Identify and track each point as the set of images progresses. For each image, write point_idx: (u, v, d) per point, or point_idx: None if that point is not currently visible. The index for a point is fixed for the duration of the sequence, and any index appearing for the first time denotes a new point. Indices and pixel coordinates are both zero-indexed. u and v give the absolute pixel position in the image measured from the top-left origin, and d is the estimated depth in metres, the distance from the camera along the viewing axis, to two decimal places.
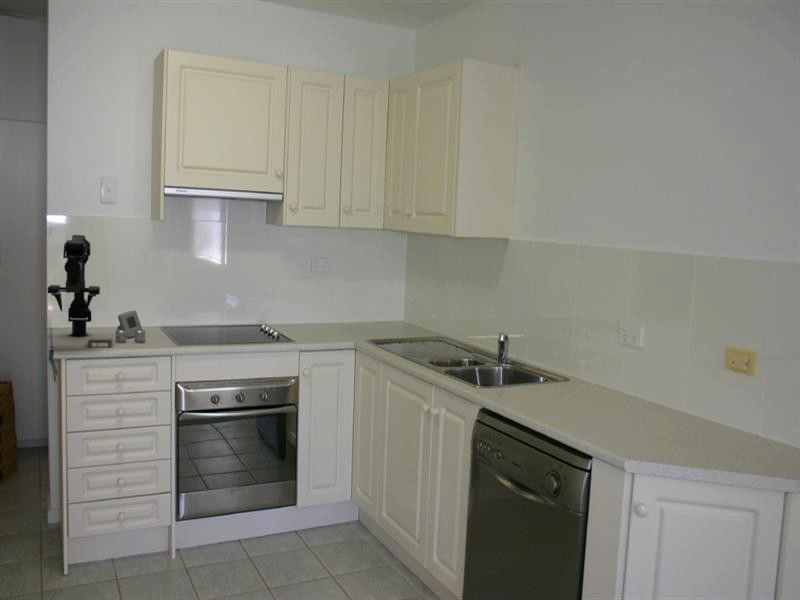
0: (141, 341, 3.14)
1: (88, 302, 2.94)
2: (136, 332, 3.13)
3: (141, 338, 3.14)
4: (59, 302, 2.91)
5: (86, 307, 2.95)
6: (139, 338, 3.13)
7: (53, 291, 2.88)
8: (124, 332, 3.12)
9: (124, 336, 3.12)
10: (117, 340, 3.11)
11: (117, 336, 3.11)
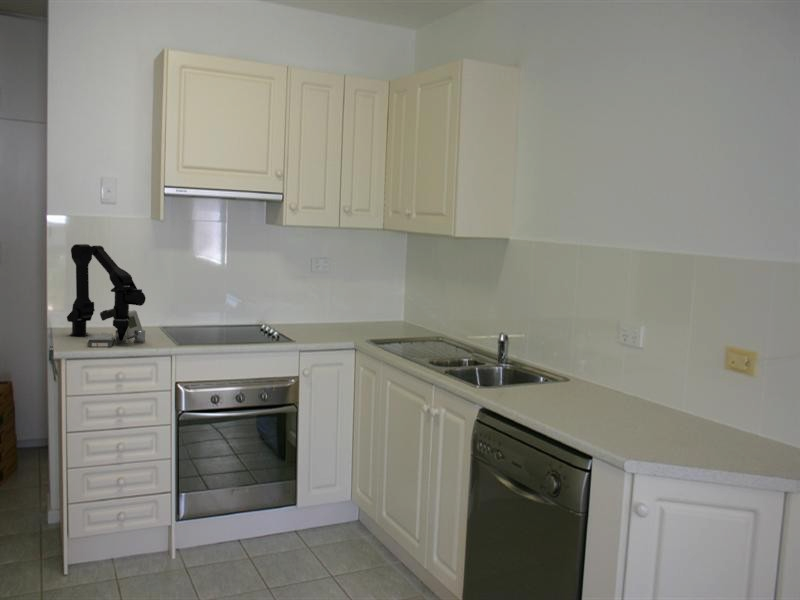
0: (141, 341, 3.14)
1: None
2: (136, 332, 3.13)
3: (141, 338, 3.14)
4: None
5: None
6: (139, 338, 3.13)
7: None
8: None
9: (124, 336, 3.12)
10: (117, 340, 3.11)
11: (117, 336, 3.11)
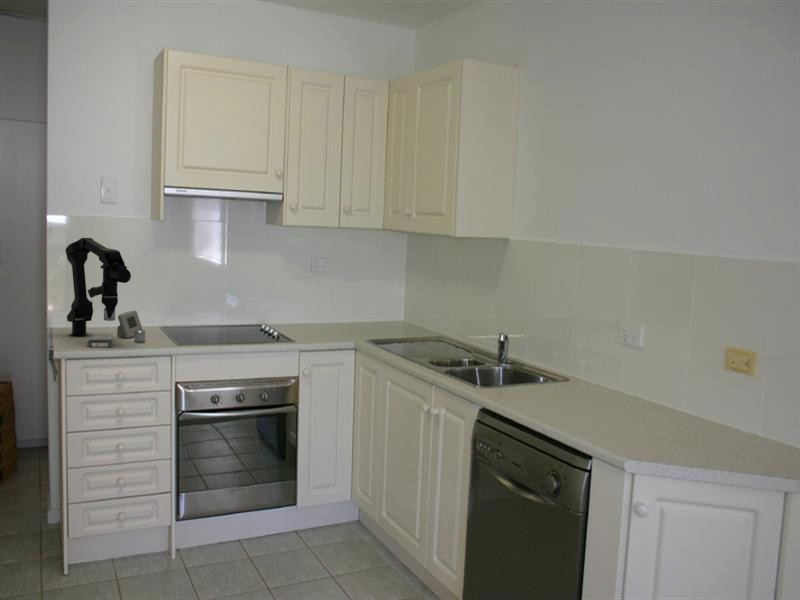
0: (141, 341, 3.14)
1: (106, 309, 3.04)
2: (136, 332, 3.13)
3: (141, 339, 3.14)
4: None
5: (107, 314, 3.05)
6: (139, 338, 3.13)
7: None
8: None
9: (113, 314, 3.07)
10: (106, 318, 3.06)
11: (106, 314, 3.06)
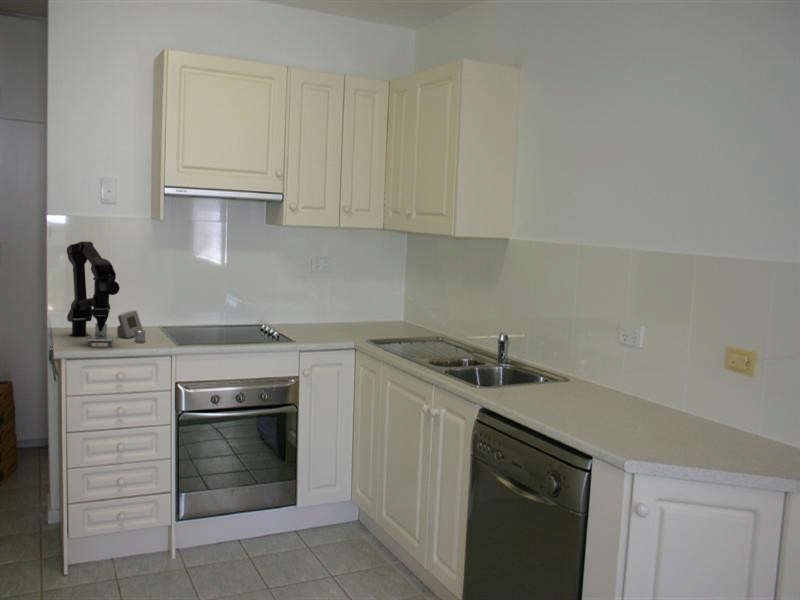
0: (141, 341, 3.14)
1: (97, 322, 3.00)
2: (136, 332, 3.13)
3: (141, 338, 3.14)
4: None
5: (98, 327, 3.02)
6: (139, 338, 3.13)
7: None
8: (104, 325, 3.05)
9: (104, 330, 3.05)
10: (97, 334, 3.05)
11: (97, 329, 3.04)
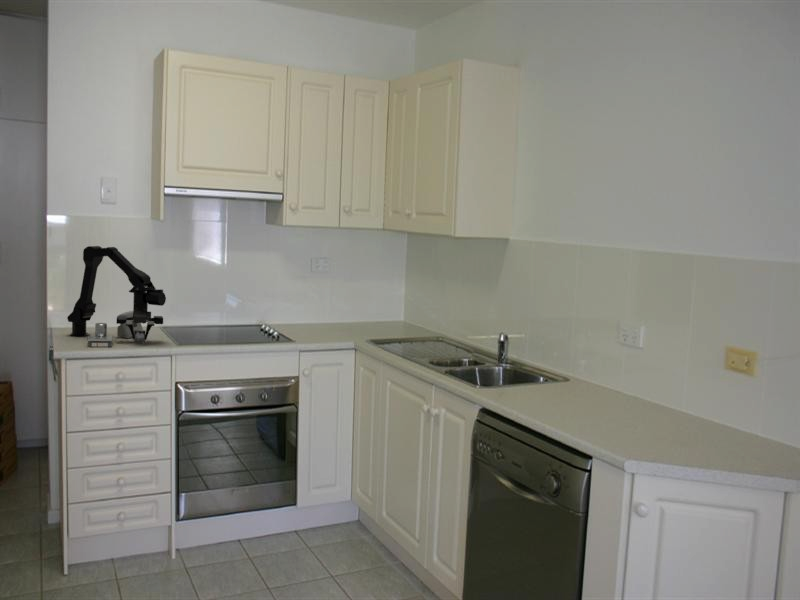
0: (141, 341, 3.14)
1: (147, 331, 3.15)
2: (136, 332, 3.13)
3: (141, 338, 3.14)
4: (132, 331, 3.13)
5: (145, 336, 3.15)
6: (139, 337, 3.13)
7: (121, 321, 3.09)
8: (104, 325, 3.05)
9: (104, 329, 3.05)
10: (97, 334, 3.05)
11: (97, 329, 3.04)
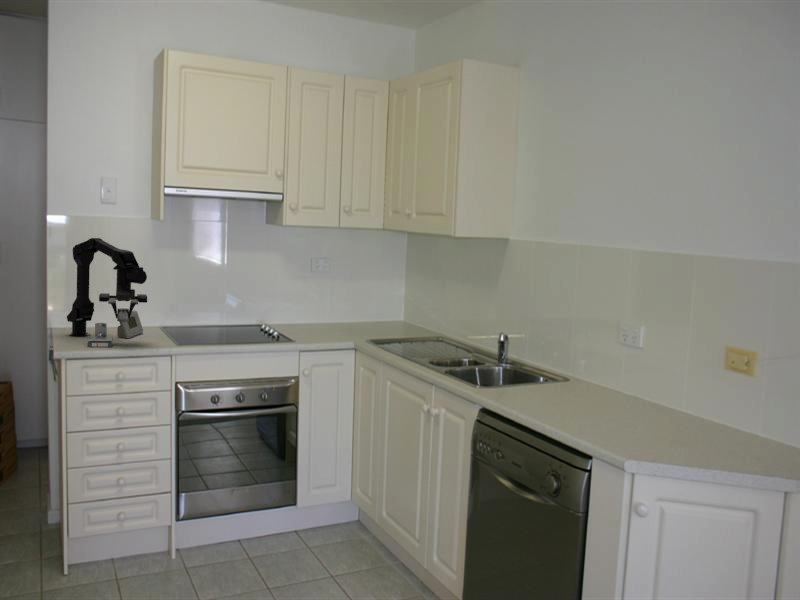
0: (124, 320, 3.07)
1: (131, 310, 3.08)
2: (119, 310, 3.06)
3: (124, 317, 3.06)
4: (115, 310, 3.06)
5: (129, 314, 3.08)
6: (123, 316, 3.06)
7: (104, 299, 3.02)
8: (104, 325, 3.05)
9: (104, 329, 3.05)
10: (97, 334, 3.04)
11: (97, 329, 3.04)
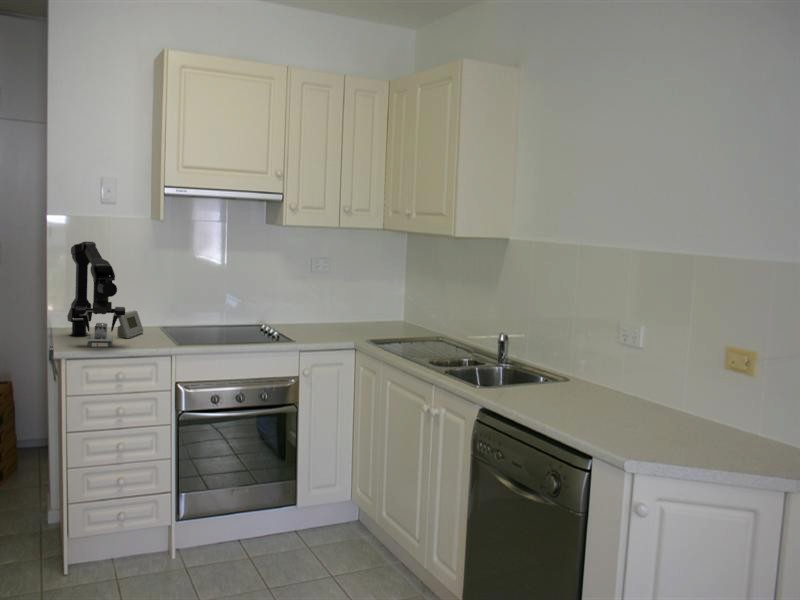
0: (101, 337, 3.00)
1: (113, 323, 3.01)
2: (96, 327, 2.99)
3: (101, 334, 3.00)
4: (87, 323, 2.98)
5: (111, 327, 3.02)
6: (100, 333, 2.99)
7: (80, 312, 2.95)
8: (105, 325, 3.05)
9: None
10: None
11: None
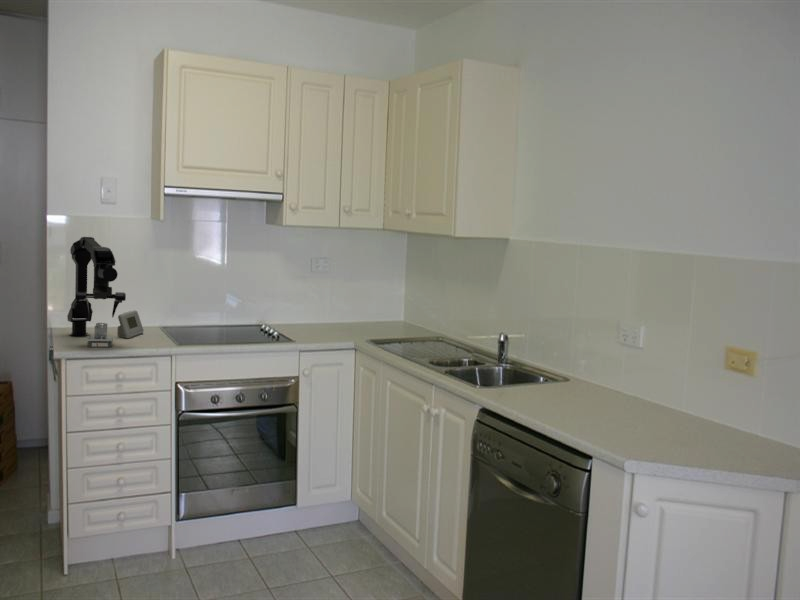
0: (101, 337, 3.00)
1: (114, 308, 3.01)
2: (96, 328, 2.99)
3: (101, 334, 3.00)
4: (86, 308, 2.97)
5: (112, 313, 3.01)
6: (100, 333, 2.99)
7: (81, 297, 2.94)
8: (106, 325, 3.06)
9: (106, 329, 3.06)
10: None
11: None
